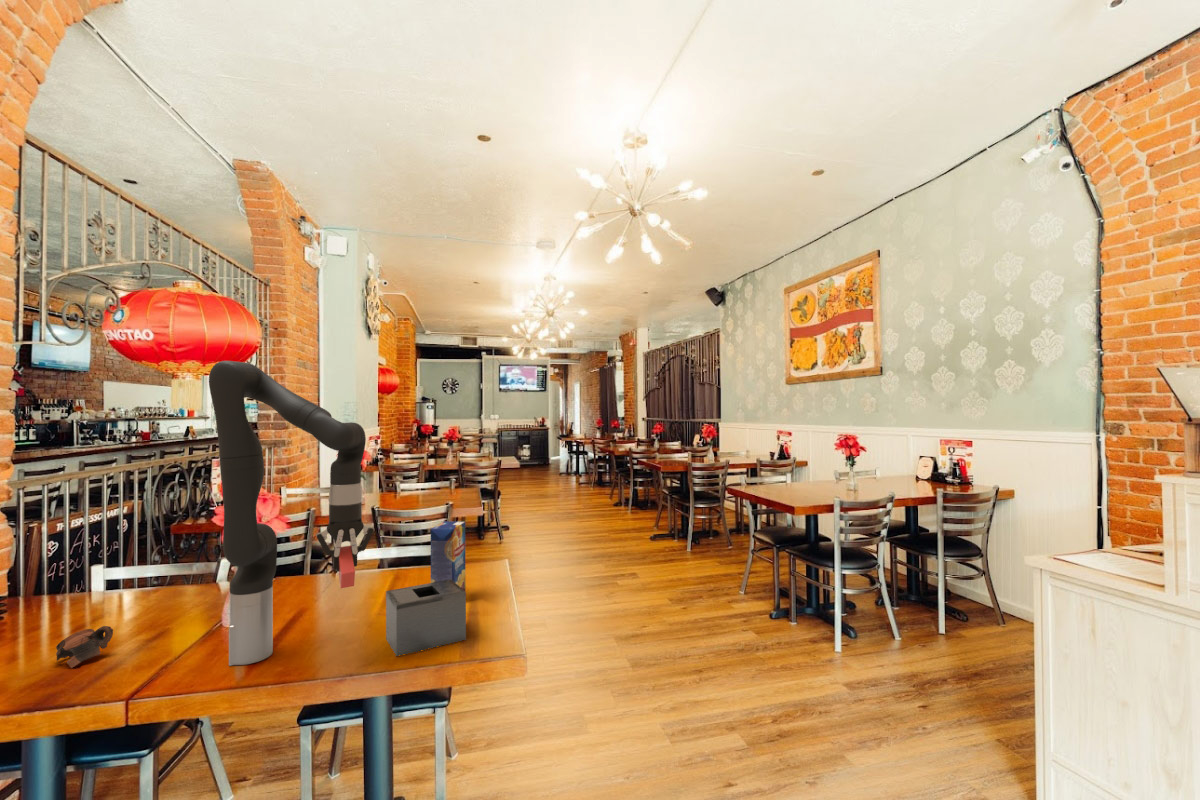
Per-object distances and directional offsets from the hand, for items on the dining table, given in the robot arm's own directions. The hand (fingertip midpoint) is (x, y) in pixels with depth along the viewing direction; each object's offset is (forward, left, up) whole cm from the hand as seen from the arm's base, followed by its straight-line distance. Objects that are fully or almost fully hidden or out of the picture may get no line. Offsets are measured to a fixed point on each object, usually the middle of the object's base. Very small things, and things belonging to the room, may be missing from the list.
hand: (345, 569), depth 135 cm
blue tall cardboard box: (+35, +29, -23) cm, 51 cm away
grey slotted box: (+20, 0, -22) cm, 30 cm away
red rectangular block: (0, -5, -1) cm, 5 cm away
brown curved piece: (-53, +33, -22) cm, 66 cm away
